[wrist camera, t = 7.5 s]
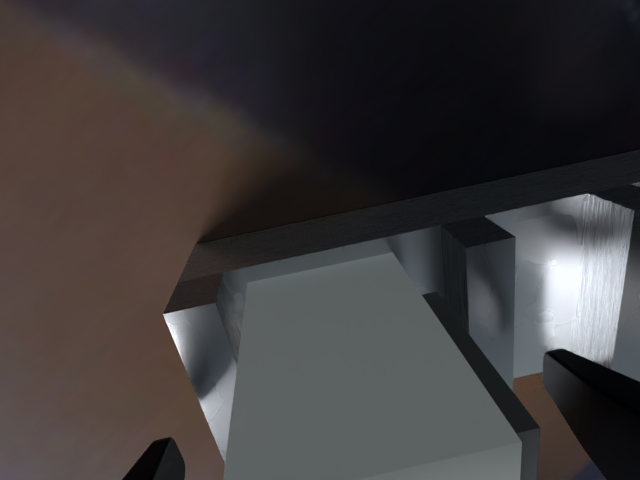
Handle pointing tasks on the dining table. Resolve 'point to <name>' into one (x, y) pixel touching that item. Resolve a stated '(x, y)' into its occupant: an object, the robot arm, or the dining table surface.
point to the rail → (449, 271)
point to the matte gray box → (368, 385)
